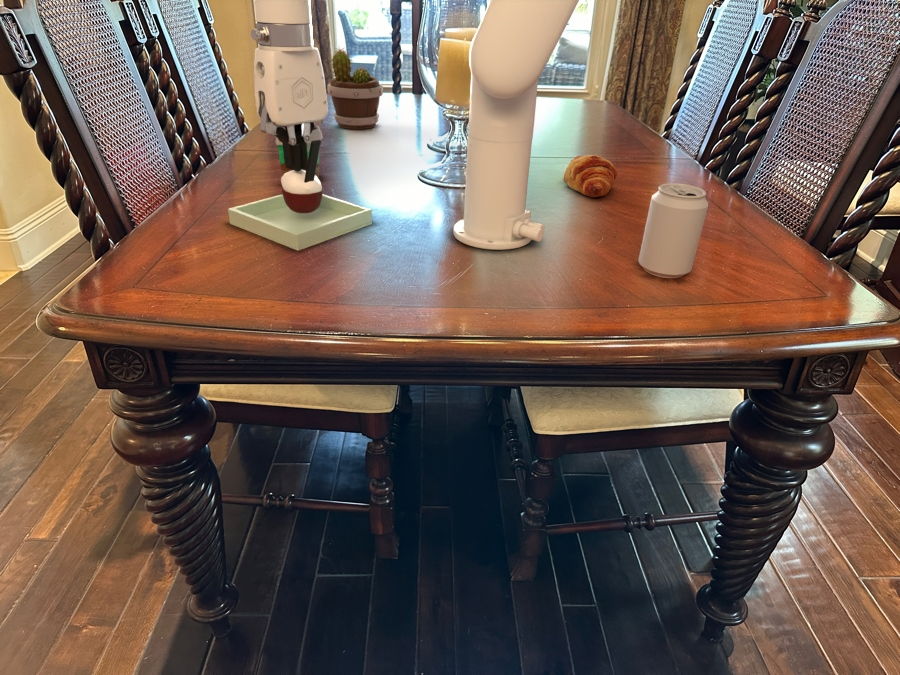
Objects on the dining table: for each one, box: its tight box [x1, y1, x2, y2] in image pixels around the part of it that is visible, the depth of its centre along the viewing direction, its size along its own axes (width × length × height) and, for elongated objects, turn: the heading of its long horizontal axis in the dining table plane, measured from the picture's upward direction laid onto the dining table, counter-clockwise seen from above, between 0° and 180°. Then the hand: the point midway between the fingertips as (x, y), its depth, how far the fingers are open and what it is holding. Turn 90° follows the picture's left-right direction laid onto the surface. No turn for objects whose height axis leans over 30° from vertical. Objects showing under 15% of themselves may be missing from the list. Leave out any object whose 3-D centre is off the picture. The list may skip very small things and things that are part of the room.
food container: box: [275, 125, 323, 180], centre depth 118 cm, size 12×6×10 cm, turn 168°
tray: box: [227, 193, 373, 252], centre depth 99 cm, size 17×16×2 cm
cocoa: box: [280, 140, 324, 213], centre depth 95 cm, size 10×6×12 cm, turn 20°
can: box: [638, 182, 709, 279], centre depth 85 cm, size 8×8×12 cm
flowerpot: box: [326, 45, 384, 131], centre depth 160 cm, size 14×15×20 cm
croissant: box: [562, 154, 618, 198], centre depth 122 cm, size 21×10×8 cm, turn 179°
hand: (296, 168), depth 95 cm, fingers closed on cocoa, 1 cm apart
